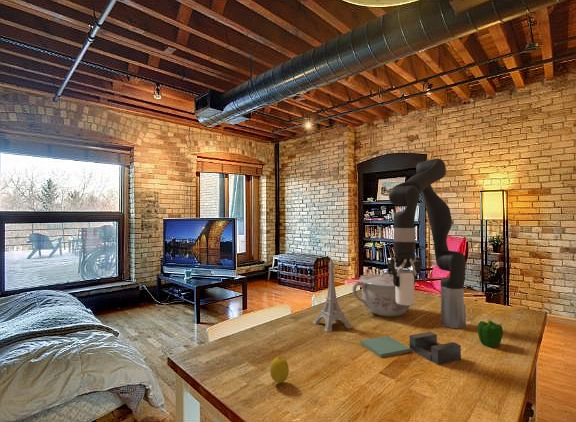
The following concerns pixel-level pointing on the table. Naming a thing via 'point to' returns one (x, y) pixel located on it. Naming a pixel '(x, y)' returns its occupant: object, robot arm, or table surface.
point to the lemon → (279, 369)
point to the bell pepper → (490, 333)
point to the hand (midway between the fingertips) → (404, 285)
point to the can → (405, 289)
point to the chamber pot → (379, 295)
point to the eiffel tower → (331, 305)
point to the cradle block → (435, 348)
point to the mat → (385, 346)
